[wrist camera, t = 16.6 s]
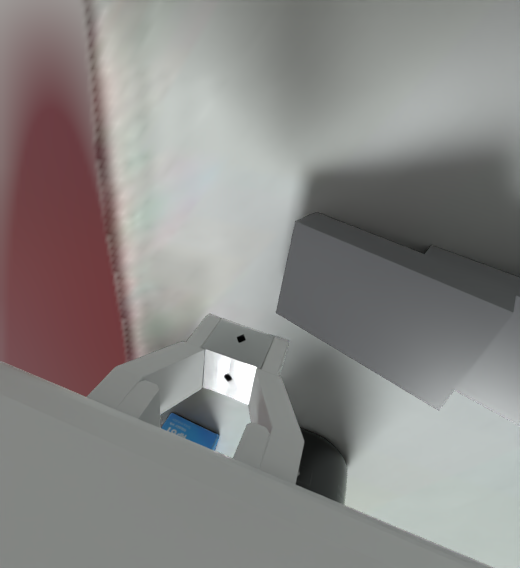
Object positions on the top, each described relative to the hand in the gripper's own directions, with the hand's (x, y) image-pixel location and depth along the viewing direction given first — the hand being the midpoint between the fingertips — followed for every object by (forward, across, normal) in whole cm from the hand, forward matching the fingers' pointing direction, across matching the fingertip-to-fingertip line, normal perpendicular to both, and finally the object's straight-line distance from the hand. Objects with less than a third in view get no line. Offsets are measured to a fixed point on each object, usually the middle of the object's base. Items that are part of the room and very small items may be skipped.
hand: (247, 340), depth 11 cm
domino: (+5, 0, 0) cm, 5 cm away
